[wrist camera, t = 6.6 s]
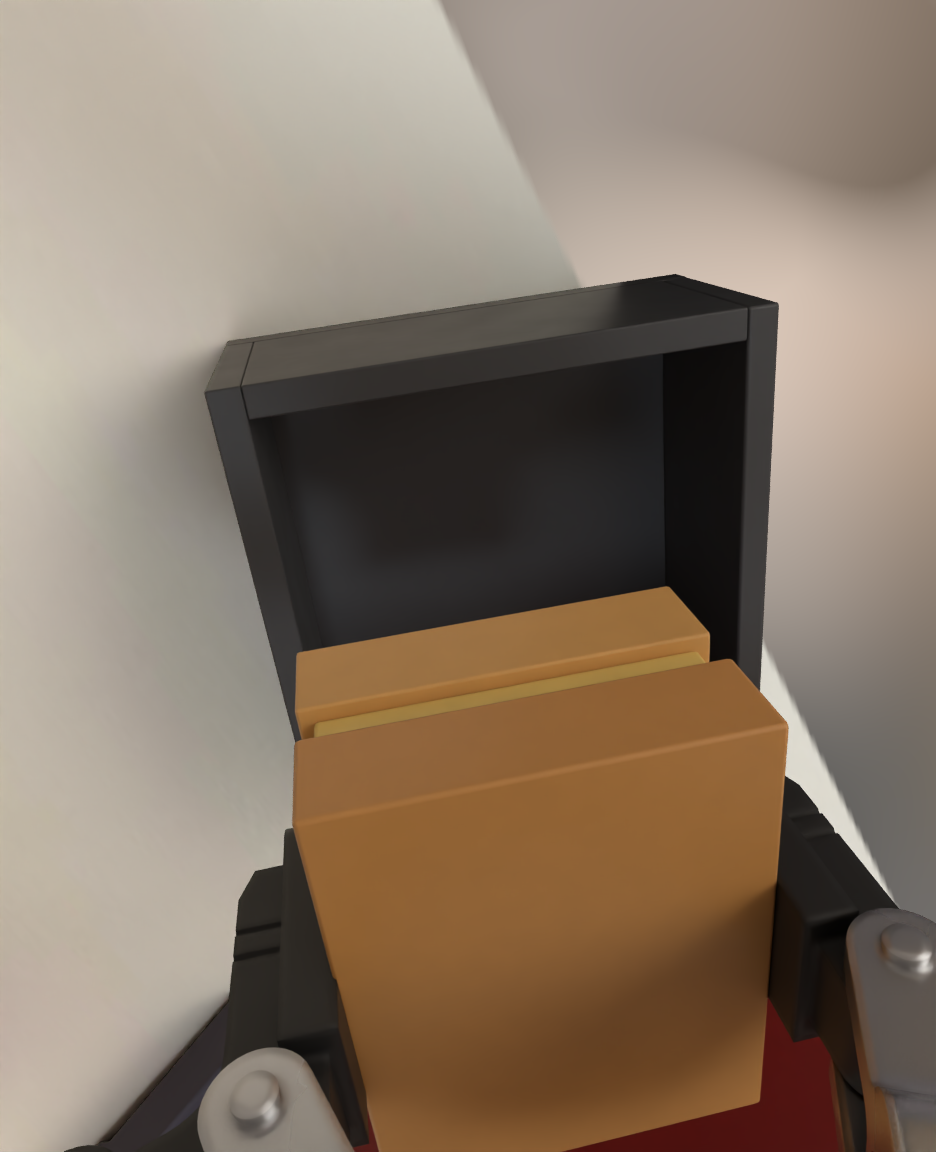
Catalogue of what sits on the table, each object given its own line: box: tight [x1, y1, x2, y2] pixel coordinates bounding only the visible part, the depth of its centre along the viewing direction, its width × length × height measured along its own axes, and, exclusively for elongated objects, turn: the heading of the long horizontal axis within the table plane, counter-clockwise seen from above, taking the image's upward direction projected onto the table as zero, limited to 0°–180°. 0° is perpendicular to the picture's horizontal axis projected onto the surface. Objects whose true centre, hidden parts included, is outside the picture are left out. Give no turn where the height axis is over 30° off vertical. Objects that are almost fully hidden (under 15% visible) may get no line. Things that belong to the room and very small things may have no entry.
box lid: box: [353, 998, 839, 1152], centre depth 18 cm, size 16×14×5 cm
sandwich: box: [292, 586, 788, 1152], centre depth 12 cm, size 7×6×4 cm
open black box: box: [204, 274, 779, 743], centre depth 26 cm, size 16×14×6 cm
